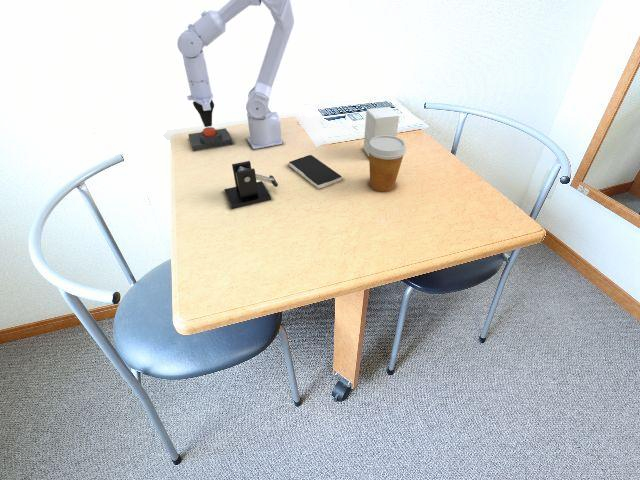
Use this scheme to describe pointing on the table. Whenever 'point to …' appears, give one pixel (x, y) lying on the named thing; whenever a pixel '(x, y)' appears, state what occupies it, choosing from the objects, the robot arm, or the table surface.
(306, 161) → the smartphone
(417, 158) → the table surface
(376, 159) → the disposable coffee cup
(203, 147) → the button box
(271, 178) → the lever
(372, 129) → the white packaging box
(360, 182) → the table surface
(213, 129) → the button
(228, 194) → the bracket
